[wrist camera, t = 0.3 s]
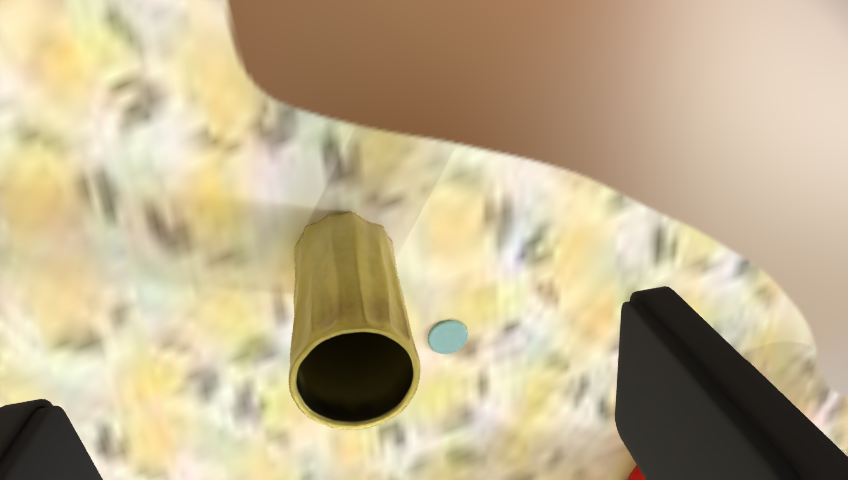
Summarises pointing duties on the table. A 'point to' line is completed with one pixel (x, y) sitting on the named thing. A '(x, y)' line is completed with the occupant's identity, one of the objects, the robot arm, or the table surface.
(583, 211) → the table surface
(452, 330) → the button
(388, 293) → the vase
